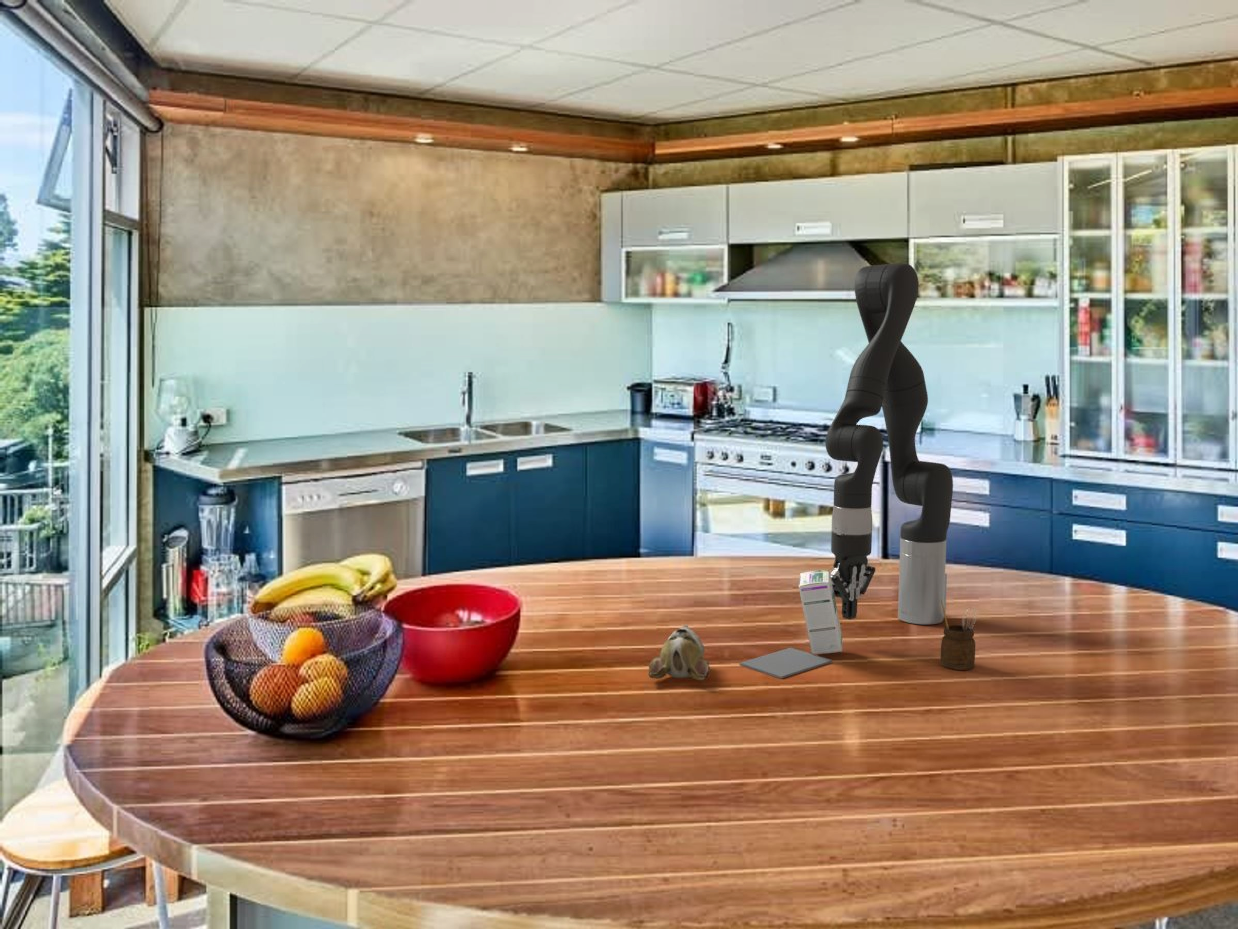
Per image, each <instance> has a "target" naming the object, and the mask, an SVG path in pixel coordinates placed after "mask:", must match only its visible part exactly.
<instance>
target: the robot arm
mask: <svg viewBox="0 0 1238 929" xmlns="http://www.w3.org/2000/svg"><path fill="white" fill-rule="evenodd" d="M919 285H920V284H919V277H918V275H917V271H916V270H915V268H914V267H913V266H912V265H910V264H909V263H905V262H904V263H903V262H902V263H901V262H900V263H886V264H884V263H883V264H874V265H873V264H872V265H867V266H863V267H862V268H859V270H858V271H857V273H856V275H855V279H854V295H855V300H856V305H857V308H858V313H859V316H860V318H861V322H862V325H863V328H864V332H865V335H866V338H867V341H868V343H867V345H866V346H865V347H864V349H863V350H862V351H861V353H860V354H859V355H858V357H857V359H856V360H855V361H854V364H853V365H852V368H851V371H850V373H849V377H848V383H847V387H846V391H845V394H844V395H845V396H844V399H843V402H842V404H841V405H840V407H839V409H838V412H836V415H835V417H834V419H833V420H832V423H831V424H830V426H829V428H828V430H827V433H826V436H825V450H826V453H827V454H828V456H829V457H830V458H831V459H832V460H835V461H840V462H852V463H857V466H856V468H855V469H854V471H853V472H849V473H842V474H839V475H837V476H836V477H835V479H834V483H833V508H832V515H831V537H830V539H831V540H830V552H831V553H832V554H833V555H834V562H833V570H832V571H830V575H831V580H832V586H833V591H834V596H835V598H839V599H841V615H842V616H841V617H842V618H843V619H846V620H854V619H856V618H857V613H858V600H859V599H860V596H862V595H865V594H866V592H867V589H868V588H869V587H870V586H869V585H870V583H871V581H872V579H873V577H874V575H875V573H876V567H875V566H871V565H870V564H869V560H868V556H870V555H871V554H872V540H873V512H872V501H873V499H872V498H873V496H872V495H873V483H874V480H875V475H876V472H877V468H878V464H879V462H880V459H881V457H882V452H883V449H884V440H883V435H882V433H881V431H880V429H878V427H876V426H875V425H868V424H858V423H859V422H860V420H862V419H864V418H869V417H873V416H876V415H878V414H880V412H881V410H882V412H883V418H884V419H883V420H884V423H885V428H886V429H885V430H886V434H887V435H886V436H887V441H888V448H889V458H890V459H889V460H890V468H891V469H890V470H891V480H892V487H893V491H894V494H895V496H896V497H897V499H898V500H899V501H900V502H902V503H903V504H907V505H913V506H919V507H921V513H920V514H921V515H920V516H919V517H918V518H917V519H914V520H910V521H909V520H908V521H906V522H903V523H902V524H901V525H900V532H899V533H900V536H899V537H900V538H899V540H900V541H899V568H898V569H899V570H898V572H899V574H898V596H897V597H898V600H897V601H898V602H897V618H898V619H899V620H900V621H902V622H905V623H908V624H914V625H915V624H916V625H936V624H941V623H942V622H944V619H945V618H944V614H943V609H942V604H941V600H942V603H943V606H944V610H945V614H946V611H947V608H946V607H947V606H946V605H947V586H948V585H947V583H948V582H947V581H948V575H947V573H946V561H947V558H946V557H947V534H948V531H949V527H950V524H951V511H952V502H953V493H954V492H953V491H954V490H953V489H954V480H953V474H952V471H951V469H950V467H949V466H947V465H946V464H945V463H939V462H932V461H924V460H920V459H919V457H918V453H917V448H916V435H917V431H918V429H919V427H920V425H921V423H922V420H923V418H924V416H925V413H926V411H927V409H928V408H927V407H928V403H929V397H928V390H927V386H926V380H925V379H926V378H925V375H924V371H923V368H922V366H921V364H920V363H919V361H918V359H917V358H916V357H915V356H914V355H913V354H912V352H911V351H910V350H909V349H908V347H907V346H906V345H905V344H904V343H903V342H902V338H903V336H904V334H905V332H906V329H907V326H908V324H909V321H910V318H911V315H912V314H913V310H914V308H915V305H916V302H917V298H918V293H919ZM946 615H947V614H946Z"/></svg>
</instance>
